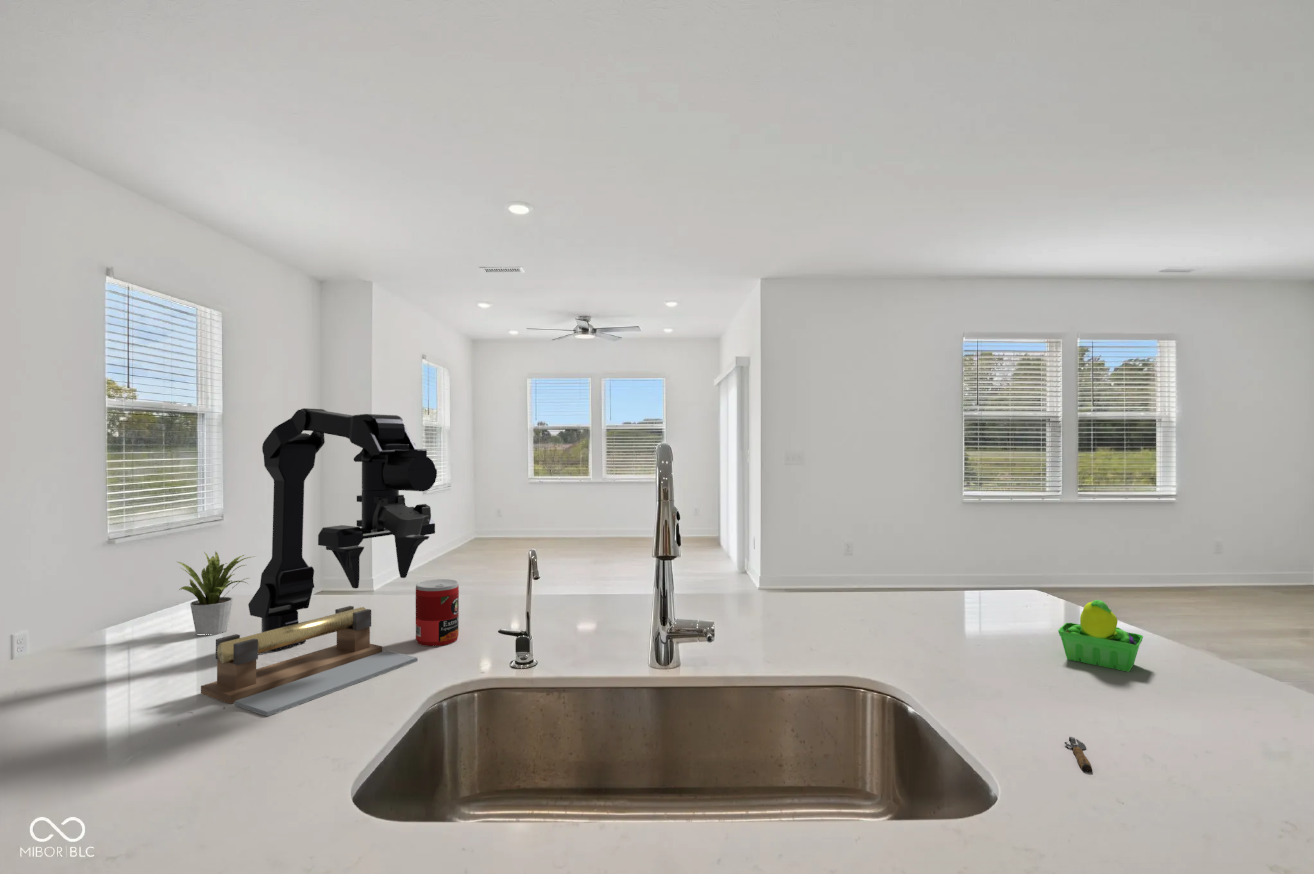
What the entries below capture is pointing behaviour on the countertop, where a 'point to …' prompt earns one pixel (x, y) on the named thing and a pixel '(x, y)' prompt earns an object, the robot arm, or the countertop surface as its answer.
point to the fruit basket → (1100, 639)
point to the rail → (291, 633)
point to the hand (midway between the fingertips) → (380, 582)
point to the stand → (287, 662)
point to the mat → (323, 683)
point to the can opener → (1080, 754)
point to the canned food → (437, 612)
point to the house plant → (211, 596)
